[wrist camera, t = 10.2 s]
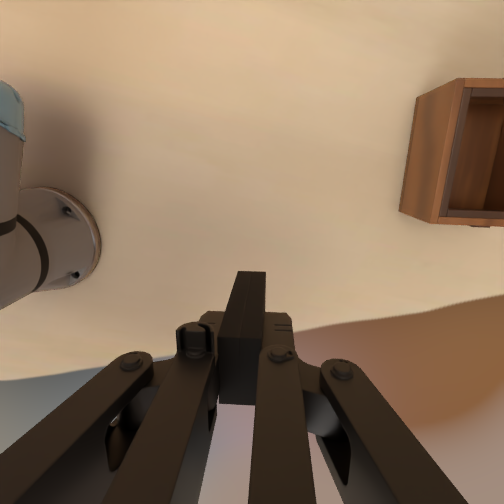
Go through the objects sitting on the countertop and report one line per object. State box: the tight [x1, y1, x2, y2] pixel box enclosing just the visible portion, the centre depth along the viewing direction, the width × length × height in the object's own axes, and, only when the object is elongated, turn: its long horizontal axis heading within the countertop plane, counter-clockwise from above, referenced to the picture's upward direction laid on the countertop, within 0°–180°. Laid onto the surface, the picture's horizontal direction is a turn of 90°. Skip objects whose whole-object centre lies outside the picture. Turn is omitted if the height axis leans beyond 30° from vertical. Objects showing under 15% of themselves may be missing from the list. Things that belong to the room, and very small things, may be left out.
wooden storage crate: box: [399, 78, 504, 228], centre depth 35 cm, size 9×14×11 cm
